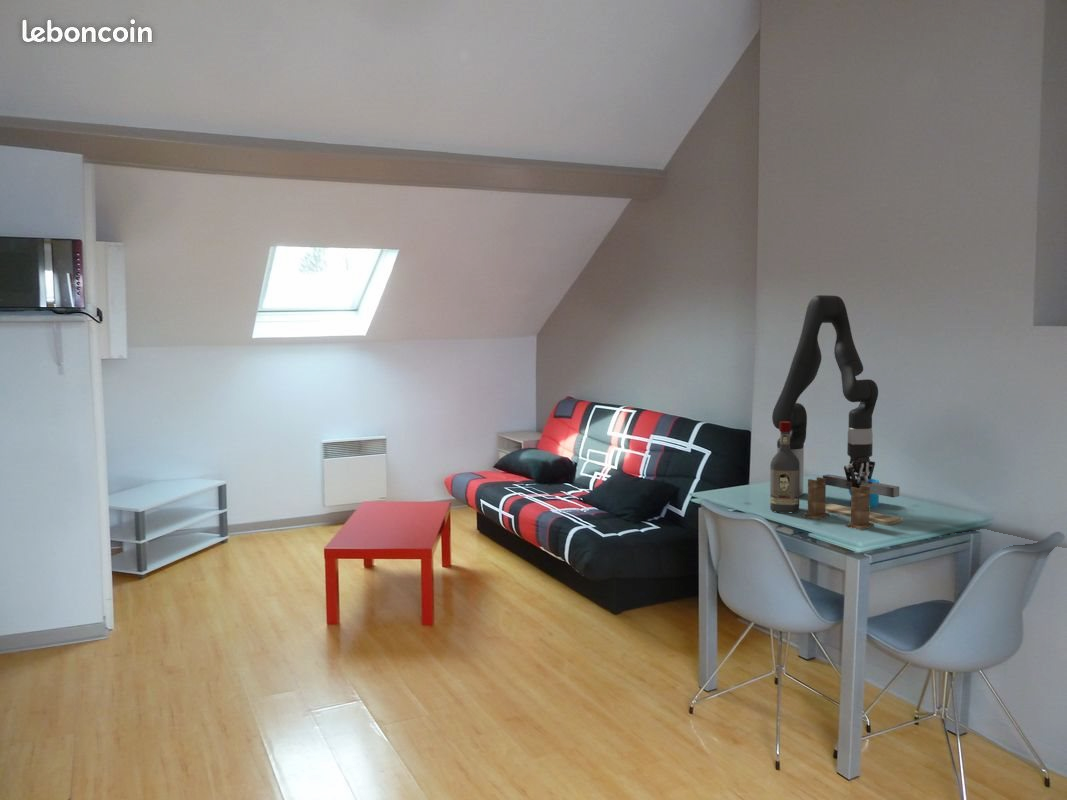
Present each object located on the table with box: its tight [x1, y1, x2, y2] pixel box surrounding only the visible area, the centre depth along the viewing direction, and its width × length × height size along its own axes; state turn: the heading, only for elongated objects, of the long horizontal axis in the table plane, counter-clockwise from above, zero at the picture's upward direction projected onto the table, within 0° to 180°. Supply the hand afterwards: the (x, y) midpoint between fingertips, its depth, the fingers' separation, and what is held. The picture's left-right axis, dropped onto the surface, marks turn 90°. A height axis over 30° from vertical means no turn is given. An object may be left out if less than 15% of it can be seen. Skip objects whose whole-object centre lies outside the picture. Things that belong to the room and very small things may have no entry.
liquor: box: [769, 421, 800, 513], centre depth 277 cm, size 9×9×30 cm
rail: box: [822, 473, 900, 498], centre depth 268 cm, size 26×3×3 cm, turn 34°
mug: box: [848, 478, 880, 507], centre depth 286 cm, size 12×8×8 cm
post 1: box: [803, 476, 831, 520], centre depth 269 cm, size 5×7×12 cm
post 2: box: [845, 485, 875, 531], centre depth 256 cm, size 5×7×12 cm
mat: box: [825, 503, 903, 526], centre depth 269 cm, size 26×7×1 cm, turn 34°
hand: (859, 493), depth 268 cm, fingers closed on rail, 3 cm apart
